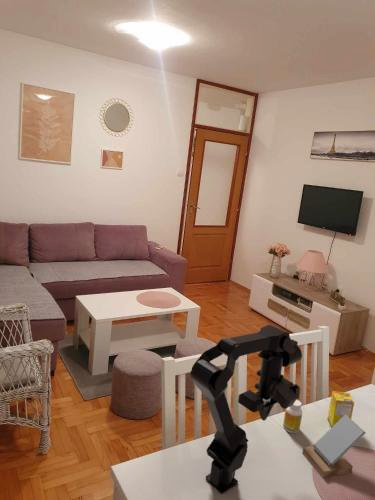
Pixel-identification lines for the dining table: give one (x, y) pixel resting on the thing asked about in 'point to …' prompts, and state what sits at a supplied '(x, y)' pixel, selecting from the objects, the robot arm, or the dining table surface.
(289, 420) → the supplement bottle
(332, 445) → the grey rectangular panel
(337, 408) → the supplement box
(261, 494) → the dining table surface
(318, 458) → the ticket block
